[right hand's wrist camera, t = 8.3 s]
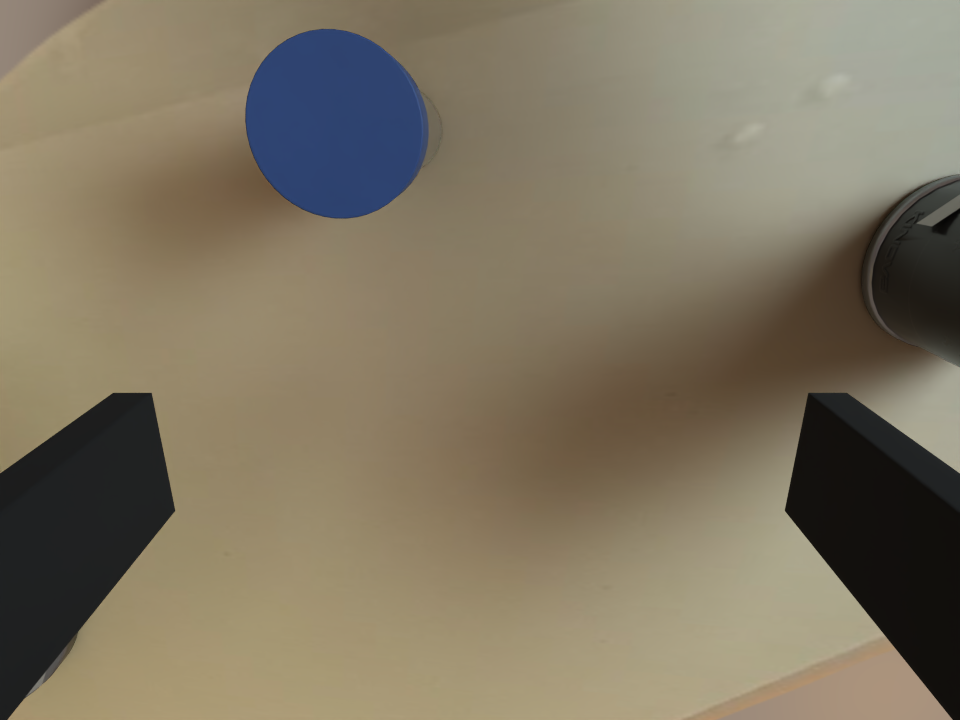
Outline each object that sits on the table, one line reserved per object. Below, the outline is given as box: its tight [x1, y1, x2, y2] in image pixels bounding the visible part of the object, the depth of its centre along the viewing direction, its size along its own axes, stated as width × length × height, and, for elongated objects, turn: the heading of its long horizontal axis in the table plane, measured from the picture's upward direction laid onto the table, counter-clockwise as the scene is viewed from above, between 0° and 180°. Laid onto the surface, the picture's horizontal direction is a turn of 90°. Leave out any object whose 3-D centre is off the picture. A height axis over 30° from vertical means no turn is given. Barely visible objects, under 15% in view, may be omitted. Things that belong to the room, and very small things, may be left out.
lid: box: [245, 29, 429, 218], centre depth 18 cm, size 5×5×2 cm
